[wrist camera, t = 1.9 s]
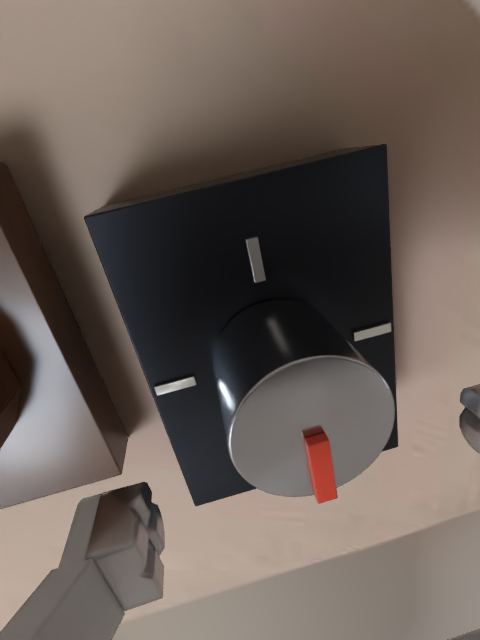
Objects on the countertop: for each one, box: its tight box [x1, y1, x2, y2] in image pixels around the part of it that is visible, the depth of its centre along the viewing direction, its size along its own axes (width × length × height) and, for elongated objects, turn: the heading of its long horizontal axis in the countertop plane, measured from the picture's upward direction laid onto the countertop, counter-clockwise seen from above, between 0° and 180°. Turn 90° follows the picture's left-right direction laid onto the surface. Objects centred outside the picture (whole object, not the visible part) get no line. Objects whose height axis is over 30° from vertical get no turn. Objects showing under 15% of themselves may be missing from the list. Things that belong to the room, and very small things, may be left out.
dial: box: [213, 299, 395, 504], centre depth 11 cm, size 4×4×4 cm
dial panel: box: [84, 144, 398, 506], centre depth 14 cm, size 12×9×3 cm
